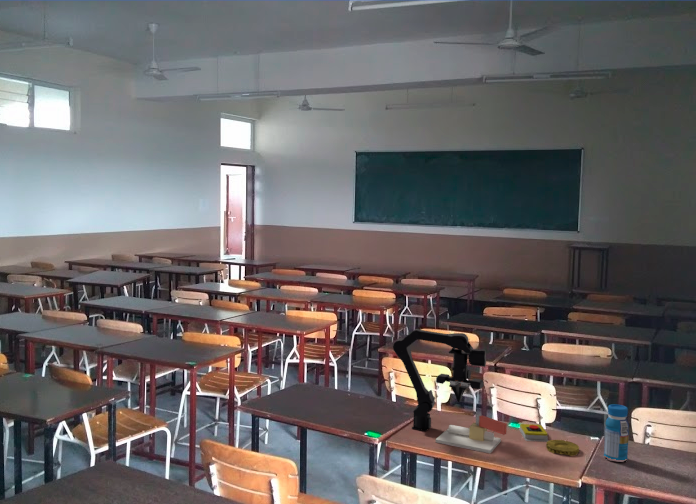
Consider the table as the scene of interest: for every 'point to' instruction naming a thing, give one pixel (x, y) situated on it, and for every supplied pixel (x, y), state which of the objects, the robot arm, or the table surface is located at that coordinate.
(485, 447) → the board
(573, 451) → the olive round disc
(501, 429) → the lever
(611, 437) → the beverage bottle
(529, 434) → the emergency button
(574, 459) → the table surface
